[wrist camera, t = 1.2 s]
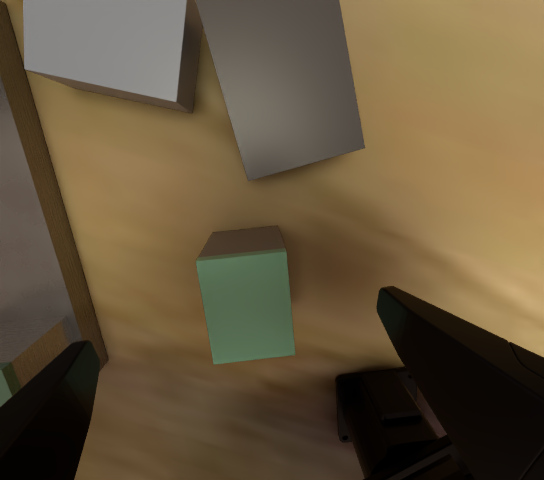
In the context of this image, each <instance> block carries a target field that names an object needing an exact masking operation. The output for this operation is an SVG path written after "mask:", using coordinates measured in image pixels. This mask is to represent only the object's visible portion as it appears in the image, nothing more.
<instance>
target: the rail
mask: <svg viewBox="0 0 544 480" xmlns="http://www.w3.org/2000/svg"><path fill="white" fill-rule="evenodd" d="M81 340H90V341H91V342H92V344H93V346H94V348H95V350H96V352H97V355H98V357H99V359H100V370H99V372H100V371H101V369H102V368H103V366H104V365H105V364H106V362H107V361H108V357H107V353H106V350H105V346H104V343H103V339H102V336H101V333H100V329H99V326H98V322H97V319H96V315H95V312H94V308H93V305H92V301H91V298H90V295H89V291H88V288H87V284H86V281H85V277H84V274H83V270H82V267H81V263H80V260H79V257H78V253H77V250H76V246H75V243H74V239H73V236H72V232H71V229H70V225H69V222H68V219H67V215H66V212H65V208H64V205H63V201H62V198H61V194H60V191H59V187H58V184H57V181H56V177H55V174H54V170H53V167H52V163H51V160H50V156H49V153H48V149H47V146H46V143H45V139H44V136H43V132H42V129H41V125H40V122H39V118H38V115H37V111H36V108H35V105H34V101H33V98H32V94H31V91H30V87H29V84H28V80H27V77H26V73H25V70H24V67H23V63H22V60H21V56H20V53H19V49H18V46H17V42H16V39H15V35H14V32H13V29H12V25H11V22H10V18H9V15H8V11H7V8H6V4H5V3H4V2H2V1H0V407H1V406H2V405H3V404H4V403H5V402H6V401H7V400H9V399H10V398H11V397H12V396H13V395H14V394H15V393H16V392H17V391H19V390H20V389H21V388H22V387H23V386H24V385H25V384H26V383H28V382H29V381H30V380H31V379H32V378H33V377H34V376H35V375H36V374H38V373H39V372H40V371H41V370H42V369H43V368H44V367H45V366H46V365H48V364H49V363H50V362H51V361H52V360H53V359H54V358H55V357H57V356H58V355H59V354H60V353H61V352H62V351H63V350H64V349H65V348H67V347H68V346H69V345H70V344H71V343H73V342H75V341H81Z"/></svg>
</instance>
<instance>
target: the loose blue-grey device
mask: <svg viewBox="0 0 544 480" xmlns="http://www.w3.org/2000/svg"><path fill="white" fill-rule="evenodd" d="M23 17H24V69H25V70H28V71H30V72H33V73H36V74H38V75H41V76H44V77H46V78H49V79H51V80H54V81H57V82H59V83H62V84H64V85H67V86H70V87H72V88H76V89H81V90H86V91H90V92H95V93H100V94H104V95H109V96H114V97H118V98H123V99H128V100H132V101H137V102H142V103H146V104H151V105H156V106H160V107H165V108H170V109H174V110H179V111H184V112H188V113H192V112H193V104H194V95H195V87H196V78H197V70H198V61H199V53H200V44H201V36H202V27H203V24H202V21H201V17H200V14H199V10H198V7H197V4H196V1H195V0H23Z"/></svg>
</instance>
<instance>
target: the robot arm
mask: <svg viewBox="0 0 544 480" xmlns="http://www.w3.org/2000/svg"><path fill="white" fill-rule="evenodd" d="M377 313H378V315H379V317H380V319H381V321H382V323H383V325H384V327H385V329H386V331H387V334H388V336H389V338H390V340H391V342H392V344H393V346H394V348H395V350H396V352H397V354H398V355H399V357H400V359H401V361H402V362H403V364H404V365H405V367H406V368H399V369H391V370H382V371H374V372H366V373H357V374H349V375H341V376H339V377H337V379H336V398H337V421H338V436H339V439H340V441H341V442H353V445H354V448H355V451H356V454H357V457H358V460H359V463H360V466H361V469H362V472H363V475H364V478H365V479H363V480H544V357H542V356H539V355H537V354H535V353H533V352H531V351H529V350H526V349H524V348H522V347H520V346H518V345H516V344H514V343H512V342H508V341H507V340H505V339H503V338H501V337H499V336H497V335H495V334H493V333H491V332H488V331H486V330H484V329H482V328H480V327H478V326H476V325H474V324H472V323H470V322H468V321H465V320H463V319H461V318H459V317H457V316H455V315H453V314H451V313H449V312H447V311H444V310H442V309H440V308H438V307H436V306H434V305H432V304H430V303H428V302H426V301H423V300H421V299H419V298H417V297H415V296H413V295H411V294H409V293H407V292H405V291H402V290H400V289H398V288H396V287H394V286H387V287H382V288H380V290H379V294H378V300H377ZM99 370H100V359H99V357H98V355H97V352H96V350H95V348H94V346H93V344H92V342H91V341H90V340H81V341H75V342H73V343H71V344H70V345H69V346H68V347H67V348H65V349H64V350H63V351H62V352H61V353H60V354H59V355H58V356H57V357H55V358H54V359H53V360H52V361H51V362H50V363H49V364H48V365H46V366H45V367H44V368H43V369H42V370H41V371H40V372H39V373H38V374H36V375H35V376H34V377H33V378H32V379H31V380H30V381H29V382H28V383H26V384H25V385H24V386H23V387H22V388H21V389H20V390H19V391H17V392H16V393H15V394H14V395H13V396H12V397H11V398H10V399H9V400H7V401H6V402H5V403H4V404H3V405H2V406H1V407H0V480H74V478H75V475H76V471H77V468H78V464H79V461H80V457H81V454H82V450H83V447H84V443H85V439H86V436H87V432H88V429H89V425H90V421H91V416H92V411H93V405H94V399H95V393H96V388H97V382H98V376H99ZM409 374H410V375H409ZM343 381H344V383H341V382H343ZM417 386H418V388H419V390H420V391H421V393H422V394H423V396H424V398H425V399H426V401H427V402H428V404H429V406H430V407H431V409H432V411H433V412H434V414H435V415H436V417H437V419H438V420H439V422H440V423H441V425H442V427H443V428H444V430H445V432H446V433H447V435H445V436H443V437H441V438H439V437H438V436H437V434H436V433H435V431H434V430H433V428H432V427H431V425H430V423H429V422H428V420H427V419H426V417H425V416H424V414H423V413H422V410H421V409H420V407H419V406H418V404H417V403H416V395H417Z"/></svg>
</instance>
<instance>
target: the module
mask: <svg viewBox="0 0 544 480" xmlns="http://www.w3.org/2000/svg"><path fill="white" fill-rule="evenodd" d="M196 266H197V272H198V278H199V284H200V289H201V295H202V301H203V306H204V312H205V318H206V324H207V329H208V335H209V341H210V346H211V352H212V358H213V364H222V363H231V362H239V361H248V360H256V359H265V358H273V357H282V356H291V355H295V345H294V334H293V322H292V310H291V299H290V287H289V275H288V264H287V252H286V249H285V246H284V243H283V240H282V237H281V234H280V231H279V228H278V226H269V227H259V228H250V229H240V230H231V231H221V232H212V234H211V236H210V238H209V239H208V241H207V243H206V244H205V246H204V248H203V250H202V251H201V253H200V255H199V256H198V258H197V260H196Z"/></svg>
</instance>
